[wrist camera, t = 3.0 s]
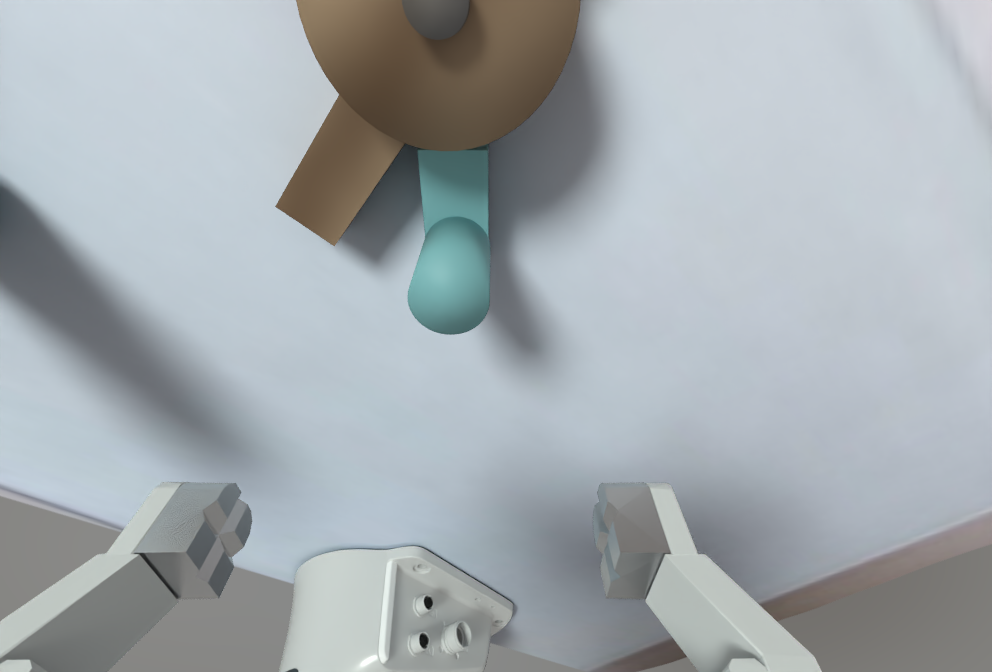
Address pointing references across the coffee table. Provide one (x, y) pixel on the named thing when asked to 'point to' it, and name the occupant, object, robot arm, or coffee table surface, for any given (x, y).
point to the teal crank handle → (453, 241)
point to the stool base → (418, 88)
